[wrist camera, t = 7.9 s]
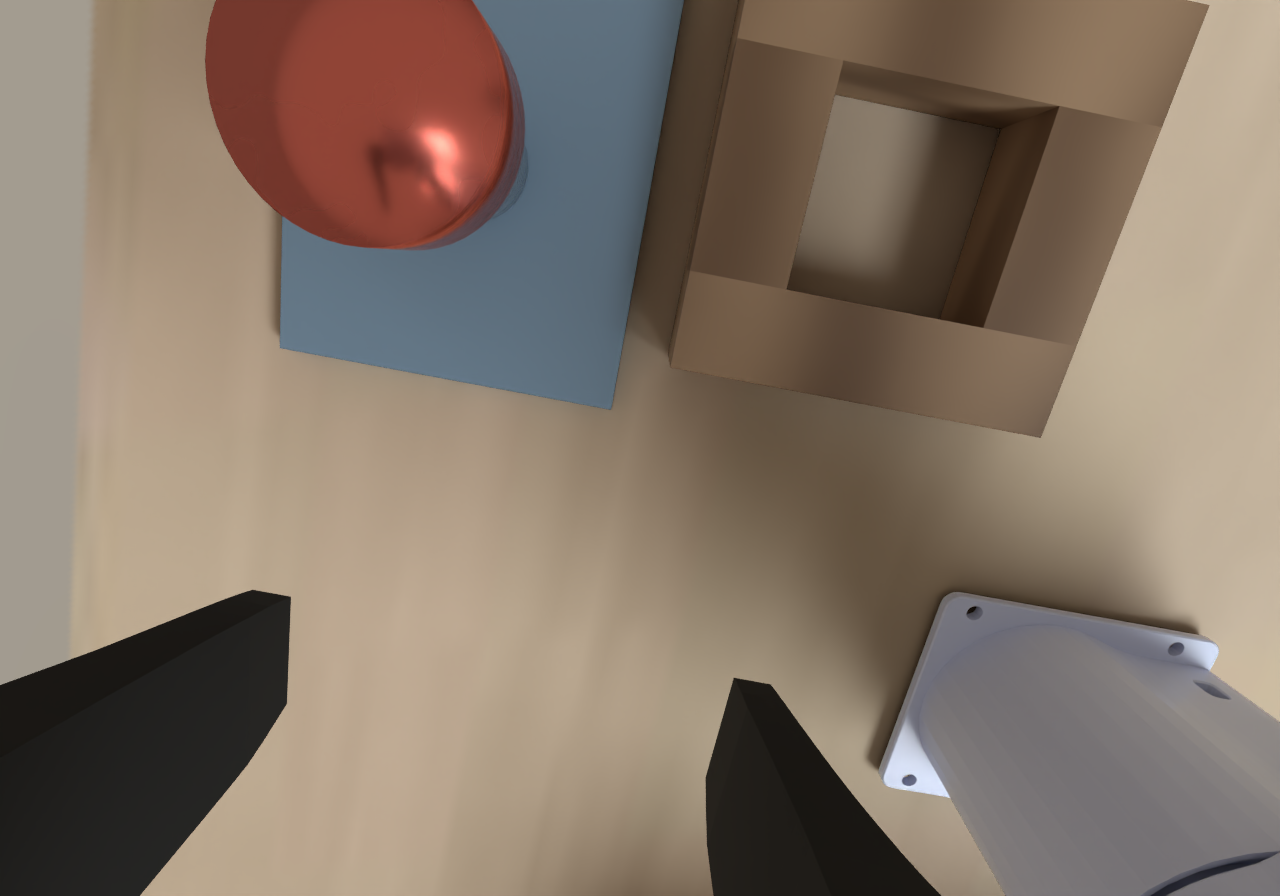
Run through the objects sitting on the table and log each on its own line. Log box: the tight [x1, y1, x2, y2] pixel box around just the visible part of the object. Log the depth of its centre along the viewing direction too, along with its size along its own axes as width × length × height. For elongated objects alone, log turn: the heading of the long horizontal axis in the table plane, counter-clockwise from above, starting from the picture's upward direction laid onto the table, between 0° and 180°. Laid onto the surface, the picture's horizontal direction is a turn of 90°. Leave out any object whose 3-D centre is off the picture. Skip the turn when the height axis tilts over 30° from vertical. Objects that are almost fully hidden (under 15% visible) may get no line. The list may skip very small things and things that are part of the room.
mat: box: [280, 0, 684, 410], centre depth 17 cm, size 10×12×1 cm
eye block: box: [668, 0, 1209, 438], centre depth 16 cm, size 10×10×2 cm
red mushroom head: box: [205, 0, 529, 250], centre depth 13 cm, size 5×5×7 cm
